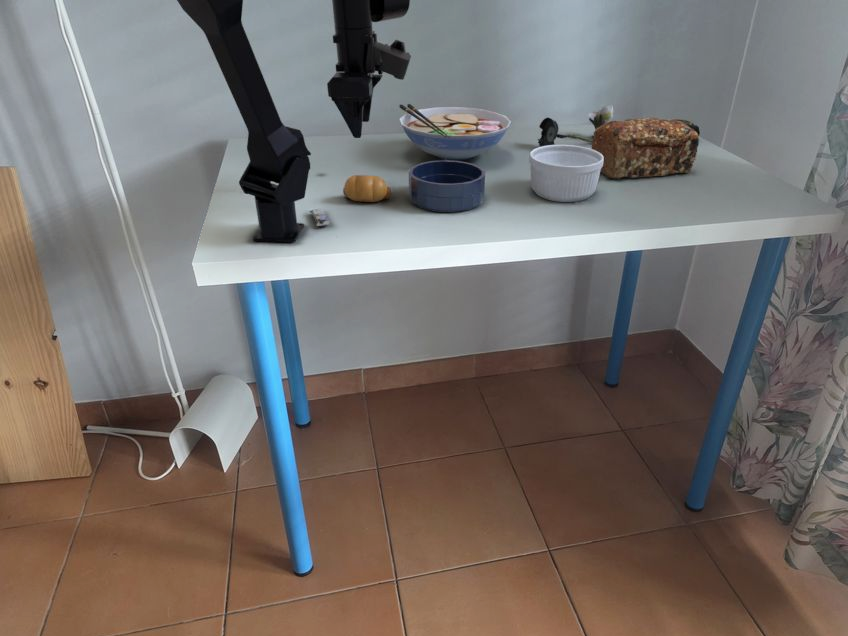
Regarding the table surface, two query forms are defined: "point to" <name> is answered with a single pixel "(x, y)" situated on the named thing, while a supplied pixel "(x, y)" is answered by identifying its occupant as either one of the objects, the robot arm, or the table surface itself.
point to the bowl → (446, 185)
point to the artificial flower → (551, 131)
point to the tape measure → (690, 125)
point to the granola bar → (320, 217)
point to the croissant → (366, 188)
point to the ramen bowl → (454, 130)
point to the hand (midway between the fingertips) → (361, 129)
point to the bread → (645, 147)
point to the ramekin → (565, 172)
